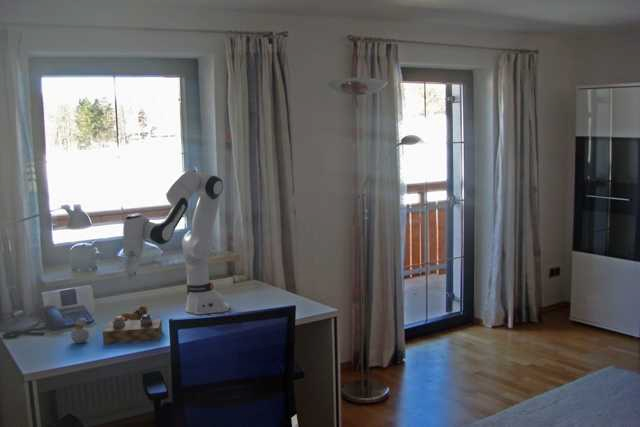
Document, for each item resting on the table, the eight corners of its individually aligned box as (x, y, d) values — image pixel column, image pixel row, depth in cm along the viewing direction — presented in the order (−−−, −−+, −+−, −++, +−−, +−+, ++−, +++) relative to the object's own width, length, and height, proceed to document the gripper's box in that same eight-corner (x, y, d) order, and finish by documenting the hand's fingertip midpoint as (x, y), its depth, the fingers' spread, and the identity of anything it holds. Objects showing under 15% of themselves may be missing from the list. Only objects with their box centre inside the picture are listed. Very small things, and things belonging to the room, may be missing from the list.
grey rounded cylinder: (125, 327, 301) (124, 315, 300) (123, 330, 296) (122, 318, 296) (115, 327, 300) (114, 316, 299) (113, 330, 296) (112, 318, 295)
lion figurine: (147, 321, 324) (146, 304, 323) (149, 324, 319) (148, 306, 318) (116, 326, 318) (115, 308, 316) (118, 329, 313) (116, 311, 312)
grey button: (152, 325, 302) (151, 313, 302) (151, 328, 298) (150, 316, 297) (142, 326, 302) (141, 314, 301) (141, 329, 297) (140, 317, 297)
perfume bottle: (81, 338, 300) (79, 313, 299) (96, 341, 296) (94, 315, 294) (68, 343, 294) (65, 317, 292) (83, 346, 289) (81, 320, 288)
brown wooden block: (162, 331, 308) (161, 318, 307) (159, 340, 294) (158, 327, 294) (109, 334, 305) (108, 322, 304) (103, 344, 291) (102, 331, 290)
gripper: (136, 254, 291) (135, 285, 293) (143, 244, 311) (142, 273, 313) (121, 254, 290) (121, 284, 293) (129, 244, 310) (129, 272, 313)
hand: (132, 278), depth 303 cm, fingers open, 8 cm apart
